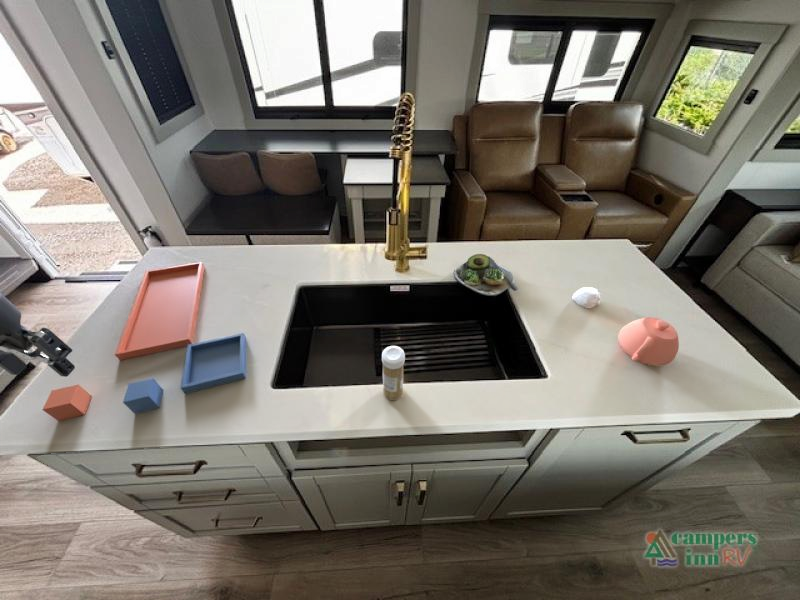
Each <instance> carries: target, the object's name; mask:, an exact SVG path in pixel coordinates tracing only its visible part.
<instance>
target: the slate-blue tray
mask: <svg viewBox="0 0 800 600" xmlns="http://www.w3.org/2000/svg"><path fill="white" fill-rule="evenodd" d="M186 347H187V348H186V353H185V359H184V366H183V370H182V376H181V382H180V390H181V391H182V393H183V394H188V393H192V392H197V391H201V390H205V389H209V388H213V387H217V386H221V385H225V384H228V383H232V382H236V381H237V382H238V381H240V380H241V381H242V380H245V379H247V337H246V335H245V333H244V332H241V333H237V334H232V335H228V336H222V337H218V338H214V339H209V340H204V341H199V342H196V343H195V342H194V343H193V344H190V345H188V346H186Z"/></svg>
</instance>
